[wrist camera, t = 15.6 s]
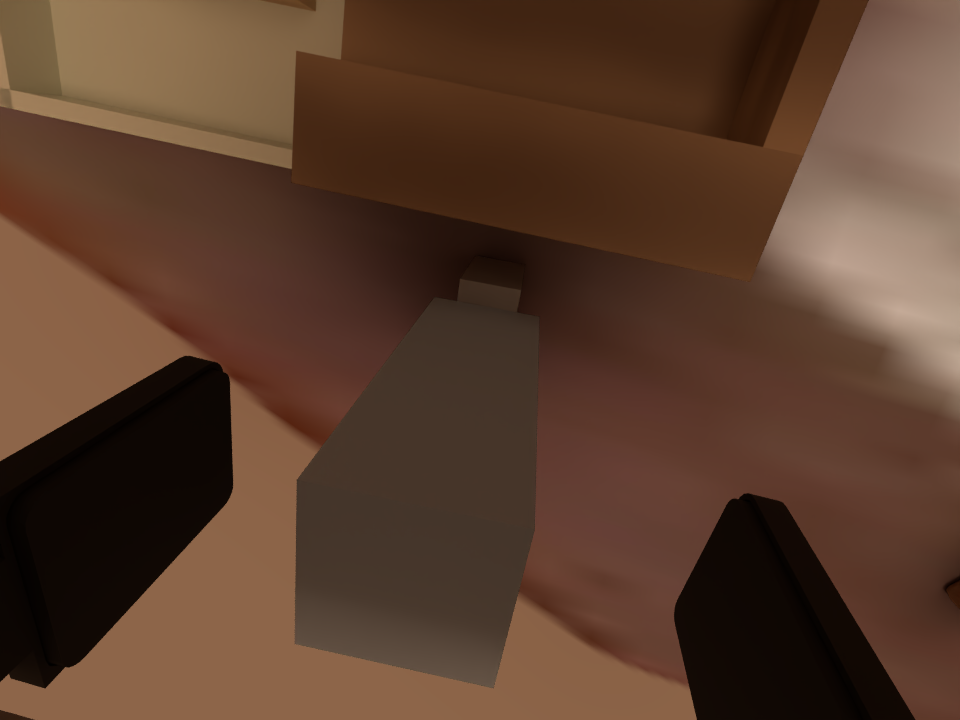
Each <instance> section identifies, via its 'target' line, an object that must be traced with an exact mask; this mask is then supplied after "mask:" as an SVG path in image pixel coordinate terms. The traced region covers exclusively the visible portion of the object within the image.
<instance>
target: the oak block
mask: <svg viewBox="0 0 960 720" xmlns="http://www.w3.org/2000/svg"><path fill="white" fill-rule="evenodd" d="M261 1H266V2H271V3H276V4H281V5H286V6H291V7H296V8H301V9H306V10H310V11H315V12H316V0H261Z"/></svg>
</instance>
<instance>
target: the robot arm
mask: <svg viewBox="0 0 960 720" xmlns="http://www.w3.org/2000/svg"><path fill="white" fill-rule="evenodd" d="M232 489H233V465H232V435H231V405H230V380H229V376H228V374H226V373H224V372H223V369H222V367H221V365H220V364H218V363H216V362H212V361H208V360H204V359H200V358H196V357H192V356H184V357H181V358H179V359H178V360H176V361H174V362H172V363H171V364H169V365H167V366H165V367H164V368H162V369H160V370H159V371H157V372H155V373H153V374H152V375H150V376H148V377H146V378H145V379H143V380H141V381H139V382H137V383H136V384H134V385H132V386H131V387H129V388H127V389H126V390H124V391H122V392H120V393H118V394H117V395H115V396H113V397H111V398H110V399H108V400H106V401H104V402H103V403H101V404H99V405H98V406H96V407H94V408H92V409H90V410H89V411H87V412H85V413H84V414H82V415H80V416H78V417H77V418H75V419H73V420H71V421H70V422H68V423H66V424H64V425H63V426H61V427H59V428H57V429H56V430H54V431H52V432H51V433H49V434H47V435H45V436H44V437H42V438H40V439H38V440H37V441H35V442H33V443H32V444H30V445H28V446H26V447H24V448H23V449H21V450H19V451H17V452H16V453H14V454H12V455H10V456H9V457H7V458H5V459H3V460H2V461H0V682H1V681H2V680H3V679H4V678H5V677H6V676H7V675H8V674H9V675H10V678H11V679H15V680H18V681H22V682H25V683H29V684H32V685H35V686H39V687H42V688H46V687H47V686H48V685H49V684H50V683H51V682H52V681H53V679H54V678H55V677H56V676H57V675H58V674H59V673H60V672H61V671H62V670H63V669H64V668H65V667H71V666H74V665H76V664H77V663H79V662H80V661H81V660H82V659H83V658H84V657H85V656H86V655H87V654H88V653H89V652H90V651H91V650H92V649H93V648H94V647H95V645H96V644H97V643H98V642H99V641H100V640H101V639H102V638H103V637H104V636H105V635H106V633H107V632H108V631H109V630H110V629H111V628H112V627H113V626H114V625H115V624H116V623H117V622H118V620H119V619H120V618H121V617H122V616H123V615H124V614H125V613H126V612H127V611H128V610H129V608H130V607H131V606H132V605H133V604H134V603H135V602H136V601H137V600H138V599H139V598H140V597H141V595H142V594H143V593H144V592H145V591H146V590H147V589H148V588H149V587H150V586H151V585H152V584H153V582H154V581H155V580H156V579H157V578H158V577H159V576H160V575H161V574H162V573H163V572H164V570H165V569H166V568H167V567H168V566H169V565H170V564H171V563H172V562H173V561H174V560H175V558H176V557H177V556H178V555H179V554H180V553H181V552H182V551H183V550H184V549H185V548H186V547H187V546H188V544H189V543H190V542H191V541H192V540H193V539H194V538H195V537H196V536H197V535H198V534H199V533H200V531H201V530H202V529H203V528H204V527H205V526H206V525H207V524H208V523H209V522H210V521H211V520H212V518H213V517H214V516H215V515H216V514H217V513H218V512H219V511H220V510H221V509H222V508H223V507H224V505H225V504H226V503H227V501H228V499H229V498H230V495H231V493H232ZM674 621H675V626H676V631H677V635H678V639H679V644H680V648H681V652H682V657H683V661H684V665H685V670H686V674H687V678H688V683H689V687H690V691H691V696H692V700H693V704H694V709H695V713H696V717H697V720H915V718H914V717H913V715H912V713H911V712H910V710H909V708H908V707H907V705H906V703H905V702H904V700H903V698H902V697H901V695H900V694H899V692H898V690H897V689H896V687H895V685H894V684H893V682H892V680H891V679H890V677H889V675H888V674H887V672H886V670H885V669H884V667H883V665H882V664H881V662H880V661H879V659H878V657H877V656H876V654H875V652H874V651H873V649H872V647H871V646H870V644H869V642H868V641H867V639H866V637H865V636H864V634H863V632H862V631H861V629H860V627H859V626H858V624H857V623H856V621H855V619H854V618H853V616H852V614H851V613H850V611H849V609H848V608H847V606H846V604H845V603H844V601H843V599H842V598H841V596H840V594H839V593H838V591H837V590H836V588H835V586H834V585H833V583H832V581H831V580H830V578H829V576H828V575H827V573H826V571H825V570H824V568H823V566H822V565H821V563H820V561H819V560H818V558H817V557H816V555H815V553H814V552H813V550H812V548H811V547H810V545H809V543H808V542H807V540H806V538H805V537H804V535H803V533H802V532H801V530H800V528H799V527H798V525H797V523H796V522H795V520H794V519H793V517H792V515H791V514H790V512H789V510H788V509H787V507H786V506H785V505H784V503H782V502H780V501H777V500H773V499H769V498H765V497H761V496H757V495H753V494H749V493H747V494H743V495H742V496H741V497H740V498H739V499H731V500H730V501H729V502H728V504H727V505H726V507H725V509H724V511H723V513H722V515H721V517H720V519H719V521H718V523H717V525H716V526H715V528H714V530H713V532H712V534H711V536H710V538H709V540H708V542H707V544H706V546H705V548H704V550H703V552H702V553H701V555H700V557H699V559H698V561H697V563H696V565H695V567H694V569H693V571H692V573H691V575H690V577H689V579H688V580H687V582H686V584H685V586H684V588H683V590H682V592H681V594H680V596H679V598H678V600H677V602H676V605H675V611H674ZM0 720H33V719H30V718H26V717H23V716H19V715H16V714H13V713H9V712H5V711H1V710H0Z"/></svg>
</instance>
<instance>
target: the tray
mask: <svg viewBox="0 0 960 720" xmlns="http://www.w3.org/2000/svg"><path fill="white" fill-rule="evenodd" d="M344 5H345V0H316V12H315V11H310V10H306V9H301V8H296V7H291V6H286V5H281V4H276V3H271V2H266V1H261V0H0V106H2V107H6V108H11V109H15V110H20V111H25V112H29V113H34V114H39V115H43V116H48V117H53V118H57V119H62V120H67V121H71V122H76V123H80V124H85V125H90V126H94V127H99V128H104V129H108V130H113V131H118V132H122V133H127V134H132V135H136V136H141V137H145V138H150V139H155V140H159V141H164V142H169V143H173V144H178V145H183V146H187V147H192V148H197V149H201V150H206V151H210V152H215V153H220V154H224V155H229V156H234V157H238V158H243V159H248V160H252V161H257V162H262V163H266V164H271V165H275V166H280V167H285V168H289V169H292V147H293V120H294V93H295V66H296V51H301V52H306V53H310V54H315V55H320V56H325V57H330V58H335V59H339V60H341V49H342V34H343V20H344Z"/></svg>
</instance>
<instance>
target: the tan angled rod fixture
mask: <svg viewBox="0 0 960 720" xmlns="http://www.w3.org/2000/svg"><path fill="white" fill-rule="evenodd" d="M946 591H947V593H948V596H949V598H950V599H951V600H952V601H953V602H954V604H955V605H956V606H957V607H958V608H959V609H960V580H959V581H957V582H955V583H953V584H952V585H950V586H949V587H948V588H947V589H946Z"/></svg>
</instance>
